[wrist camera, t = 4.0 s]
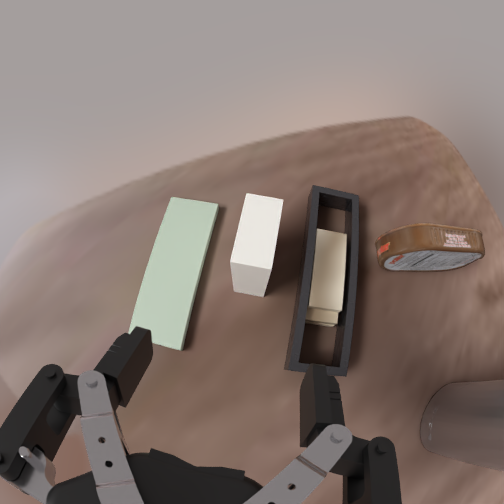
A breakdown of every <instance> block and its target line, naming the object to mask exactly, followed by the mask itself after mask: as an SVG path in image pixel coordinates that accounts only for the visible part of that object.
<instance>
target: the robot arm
mask: <svg viewBox="0 0 504 504" xmlns="http://www.w3.org/2000/svg"><path fill="white" fill-rule="evenodd" d="M152 356H153V347H152V335H151V330H149V329H145V328H142V327H139V326H136V327H135V328H134V329H133V331H132V332H131V333H130V334H128V333H124V334H123V335H121V336H119V337H118V338H117V339H116V340H115V342H114V343H113V345H112V346H111V347H110V348H109V351H107V352H106V354H105V355H104V356H103V358H102V359H101V360H100V362H99V363H98V365H97V366H96V367H95V369H94V370H90V371H86V372H84V373H82V374H81V375H80V376H77V375H70V374H64V372H63V370H62V368H61V367H60V366H58V365H55V364H49V365H46V366H44V367H43V368H42V369H41V370H40V371H39V372H38V374H37V375H36V376H35V378H34V379H33V381H32V382H31V383H30V385H29V386H28V387H27V389H26V390H25V392H24V393H23V394H22V396H21V397H20V399H19V400H18V402H17V403H16V405H15V406H14V408H13V409H12V411H11V412H10V414H9V415H8V417H7V418H6V420H5V422H4V423H3V425H2V426H1V428H0V476H1V477H2V478H3V479H4V480H5V481H7V482H8V483H9V484H11V485H12V486H14V487H15V488H17V489H19V490H21V491H22V492H23V493H25V494H27V495H31V496H32V497H34V498H35V499H37V500H38V501H40V502H41V503H43V504H301V503H302V502H303V501H304V500H305V499H306V498H307V497H308V496H309V495H310V493H311V492H312V491H313V490H314V489H315V488H316V487H317V486H318V485H319V484H320V482H321V481H322V480H323V479H324V478H325V477H326V474H327V473H328V472H332V473H335V474H339V475H343V504H402V501H401V491H400V481H399V473H398V466H397V459H396V452H395V447H394V444H393V443H392V442H391V441H390V440H389V439H388V438H385V437H376V438H373V439H372V440H371V441H368V440H364V439H361V438H357V437H355V436H353V435H352V434H351V432H350V430H349V429H348V428H346V427H345V422H344V415H343V408H342V401H341V395H340V388H339V383H338V382H337V380H336V379H335V377H334V376H328V375H327V369H326V365H321V364H313V363H311V364H310V365H309V367H308V369H307V372H306V374H305V377H304V379H303V381H302V384H301V388H300V447H307V449H306V450H305V451H304V452H303V453H302V454H301V455H300V456H298V457H296V458H295V459H294V460H293V461H292V462H291V463H290V464H289V465H288V466H287V467H286V468H285V469H284V470H283V471H281V472H280V473H279V474H278V475H277V476H276V477H275V478H274V479H273V480H271V481H270V482H269V483H268V484H267V485H266V486H264V487H262V486H261V485H260V484H259V483H257V482H256V481H254V480H252V479H250V478H248V477H246V476H244V474H245V471H242V470H236V469H230V468H225V467H196V466H193V465H191V464H189V463H187V462H185V461H183V460H181V459H179V458H178V457H176V456H174V455H171V454H168V453H164V452H161V451H158V450H155V449H152V448H151V450H150V452H149V453H134V454H130V452H129V449H128V447H127V444H126V442H125V439H124V436H123V433H122V430H121V426H120V423H119V420H118V416H117V413H116V409H117V407H118V405H120V406H123V407H125V408H126V406H127V404H128V402H129V401H130V399H131V397H132V395H133V393H134V391H135V389H136V388H137V386H138V384H139V382H140V380H141V378H142V377H143V375H144V373H145V371H146V369H147V368H148V366H149V364H150V362H151V360H152ZM76 415H82V417H80V420H81V426H82V431H83V436H84V441H85V445H86V449H87V454H88V457H89V461H90V465H91V469H92V471H90V472H88V473H85V474H83V475H80V476H77V477H75V478H72V479H69V480H67V481H64V482H61V483H58V484H56V485H55V481H54V479H55V474H56V470H55V467H54V465H53V463H52V461H53V459H54V457H55V455H56V453H57V451H58V449H59V447H60V445H61V443H62V441H63V439H64V437H65V435H66V433H67V431H68V430H69V428H70V426H71V424H72V422H73V420H74V418H75V416H76ZM420 435H421V440H422V443H423V445H424V447H425V448H426V449H427V450H428V451H431V452H433V453H436V454H439V455H442V456H446V457H449V458H452V459H455V460H458V461H462V462H466V463H469V464H473V465H477V466H481V467H486V468H490V469H495V470H500V471H504V379H502V380H492V381H479V382H459V383H450V384H447V385H446V386H444V387H442V388H441V389H440V390H439V391H438V392H437V393H436V394H435V395H434V396H433V398H432V399H431V400H430V402H429V404H428V405H427V407H426V410H425V412H424V414H423V418H422V421H421V428H420Z"/></svg>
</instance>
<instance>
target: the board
mask: <svg viewBox="0 0 504 504" xmlns="http://www.w3.org/2000/svg"><path fill="white" fill-rule="evenodd" d="M218 210H219V206H218V204H215V203H208V202H202V201H196V200H189V199H182V198H176V197H171V200H170V202H169V205H168V208H167V210H166V213H165V216H164V218H163V221H162V224H161V227H160V230H159V232H158V235H157V238H156V241H155V244H154V247H153V250H152V253H151V256H150V259H149V262H148V265H147V268H146V272H145V275H144V278H143V282H142V285H141V288H140V292H139V295H138V299H137V302H136V306H135V310H134V313H133V317H132V321H131V325H130V329H129V333H128V334H130V333H131V332H132V331H133V329H134V328H135V327H136V326H139V327H142V328H145V329H149V330H151V335H152V343H156V344H159V345H163V346H166V347H170V348H173V349H177V350H181V351H183V346H184V342H185V337H186V333H187V329H188V324H189V320H190V316H191V312H192V308H193V304H194V300H195V296H196V292H197V288H198V284H199V280H200V276H201V272H202V268H203V264H204V261H205V257H206V253H207V249H208V246H209V242H210V239H211V235H212V231H213V228H214V224H215V221H216V217H217V214H218Z"/></svg>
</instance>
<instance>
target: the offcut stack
mask: <svg viewBox="0 0 504 504" xmlns="http://www.w3.org/2000/svg"><path fill="white" fill-rule="evenodd" d="M346 240H347V234H342V233H337V232H332V231H327V230H322V229H317V230H316V238H315V248H314V257H313V266H312V274H311V283H310V290H309V298H308V305H307V312H306V319H305V323H307V324H314V325H321V326H329V327H333V326H334V325H335V324H337V321H338V313H339V312H340V311H342V304H343V292H344V279H345V263H346Z"/></svg>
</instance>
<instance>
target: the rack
mask: <svg viewBox="0 0 504 504" xmlns="http://www.w3.org/2000/svg"><path fill="white" fill-rule="evenodd" d="M318 205H321V206H326V207H331V208H335V209H340V210H344V211H345V234H347V240H346V263H345V279H344V292H343V304H342V311H340V312H339V315H338V324H337V332H336V340H335V347H334V354H333V360H332V367H330V366H326V369H327V375H334V376H346V375H347V369H348V362H349V355H350V348H351V340H352V332H353V322H354V312H355V301H356V288H357V271H358V245H359V196H358V195H354V194H350V193H346V192H342V191H338V190H333V189H329V188H324V187H320V186H315V185H313V186H312V189H311V192H310V194H309V197H308V207H307V216H306V225H305V234H304V242H303V250H302V258H301V266H300V273H299V281H298V288H297V294H296V301H295V308H294V314H293V320H292V327H291V333H290V339H289V344H288V350H287V356H286V361H285V367H284V369H285V370H291V371H299V372H307V369H308V367H309V365H310V364H305V363H299V357H300V351H301V345H302V339H303V332H304V326H305V319H306V312H307V305H308V298H309V290H310V283H311V274H312V266H313V257H314V248H315V238H316V227H317V216H318Z"/></svg>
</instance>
